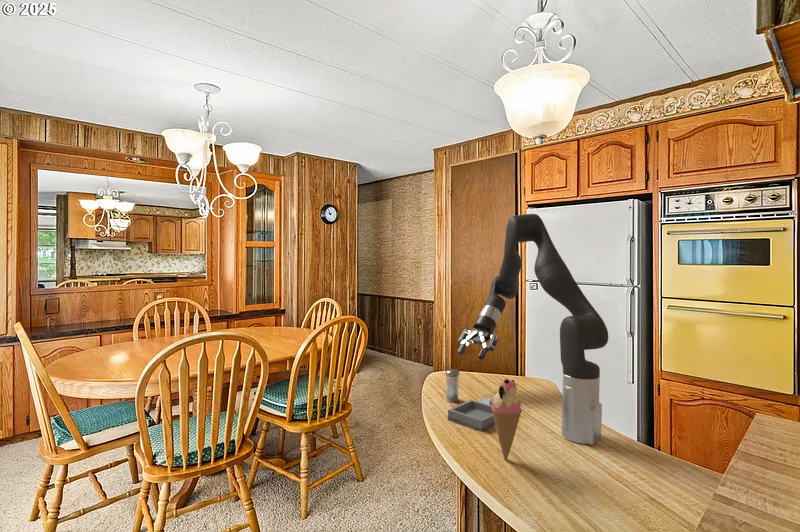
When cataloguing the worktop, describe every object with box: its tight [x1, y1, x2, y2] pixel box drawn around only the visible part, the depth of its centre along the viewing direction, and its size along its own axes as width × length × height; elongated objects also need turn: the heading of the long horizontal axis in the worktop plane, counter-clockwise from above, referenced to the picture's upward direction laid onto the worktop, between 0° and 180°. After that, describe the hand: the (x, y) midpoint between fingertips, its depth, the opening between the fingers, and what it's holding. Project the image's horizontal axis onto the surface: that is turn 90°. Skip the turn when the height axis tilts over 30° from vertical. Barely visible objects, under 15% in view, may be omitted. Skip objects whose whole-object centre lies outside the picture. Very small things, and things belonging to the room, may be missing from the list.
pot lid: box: [478, 398, 493, 406], centre depth 135 cm, size 10×10×6 cm
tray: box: [447, 399, 495, 432], centre depth 127 cm, size 12×12×3 cm
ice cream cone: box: [491, 378, 523, 461], centre depth 102 cm, size 8×7×20 cm
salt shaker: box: [445, 368, 460, 403], centre depth 143 cm, size 5×5×10 cm
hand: (469, 356), depth 149 cm, fingers open, 8 cm apart
